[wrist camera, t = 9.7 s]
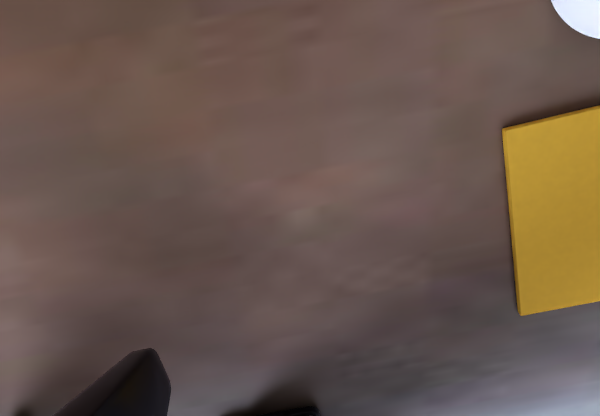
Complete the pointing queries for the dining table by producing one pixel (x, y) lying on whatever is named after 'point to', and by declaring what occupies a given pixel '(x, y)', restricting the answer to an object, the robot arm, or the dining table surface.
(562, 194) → the cloth
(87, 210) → the dining table surface
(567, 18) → the can
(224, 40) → the dining table surface
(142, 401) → the robot arm
